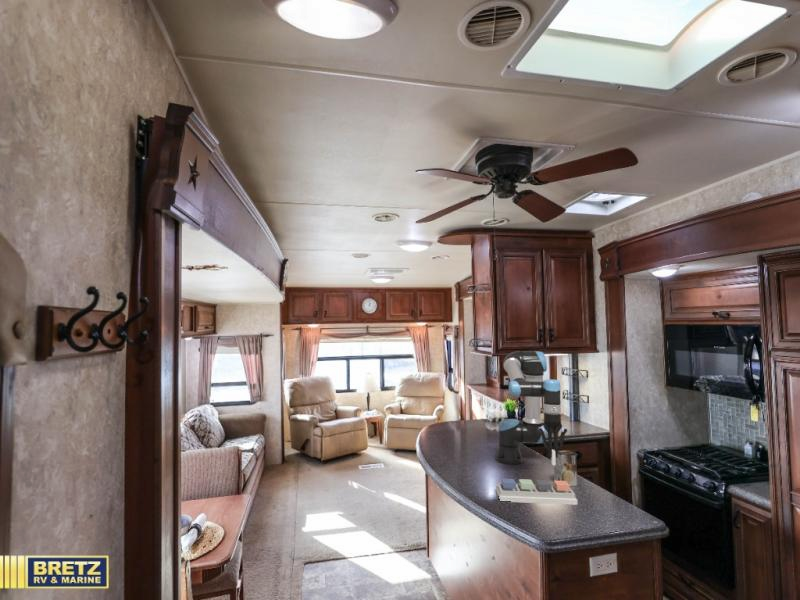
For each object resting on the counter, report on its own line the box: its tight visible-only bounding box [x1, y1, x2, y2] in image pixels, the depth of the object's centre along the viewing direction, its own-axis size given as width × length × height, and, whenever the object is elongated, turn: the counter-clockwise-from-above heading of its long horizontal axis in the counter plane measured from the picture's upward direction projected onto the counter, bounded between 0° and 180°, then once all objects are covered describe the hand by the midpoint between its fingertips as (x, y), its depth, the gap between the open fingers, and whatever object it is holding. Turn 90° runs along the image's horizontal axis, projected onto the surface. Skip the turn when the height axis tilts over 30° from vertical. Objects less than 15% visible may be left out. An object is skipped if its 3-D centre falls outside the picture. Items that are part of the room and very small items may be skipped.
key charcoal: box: [535, 479, 553, 490], centre depth 198 cm, size 6×6×2 cm
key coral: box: [553, 479, 571, 491], centre depth 198 cm, size 6×6×2 cm
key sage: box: [518, 478, 535, 490], centre depth 199 cm, size 6×6×2 cm
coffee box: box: [553, 449, 578, 487], centre depth 215 cm, size 9×6×16 cm
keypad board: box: [495, 482, 579, 506], centre depth 198 cm, size 13×34×4 cm, turn 85°
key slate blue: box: [501, 478, 517, 489], centre depth 200 cm, size 6×6×2 cm
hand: (553, 464), depth 199 cm, fingers closed
